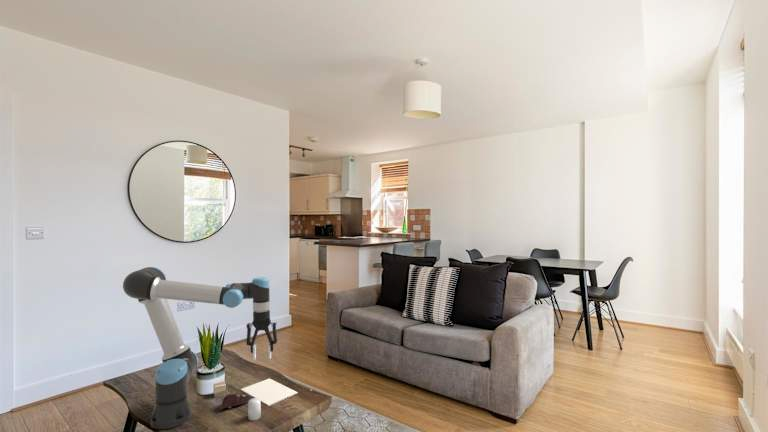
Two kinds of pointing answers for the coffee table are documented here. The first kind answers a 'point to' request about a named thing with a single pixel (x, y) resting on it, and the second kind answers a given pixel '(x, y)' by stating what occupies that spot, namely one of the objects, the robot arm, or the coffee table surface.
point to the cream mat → (269, 391)
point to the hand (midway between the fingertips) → (262, 358)
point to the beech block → (219, 389)
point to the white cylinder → (254, 409)
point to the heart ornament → (234, 400)
